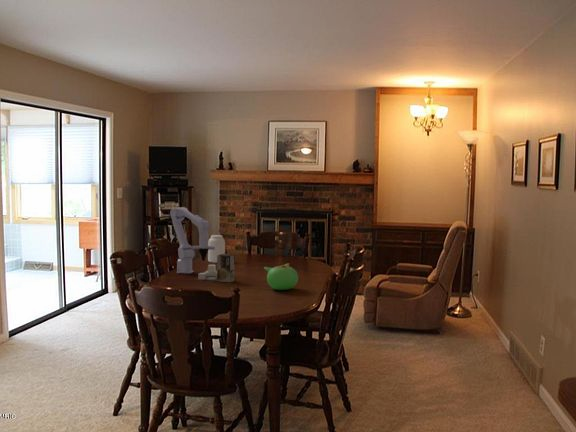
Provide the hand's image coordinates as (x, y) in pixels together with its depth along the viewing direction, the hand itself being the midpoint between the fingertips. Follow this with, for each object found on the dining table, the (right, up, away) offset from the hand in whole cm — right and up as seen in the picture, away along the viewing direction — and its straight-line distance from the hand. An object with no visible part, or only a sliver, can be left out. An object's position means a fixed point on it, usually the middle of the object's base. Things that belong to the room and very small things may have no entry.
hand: (203, 260), depth 324 cm
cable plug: (+1, -11, -10) cm, 14 cm away
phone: (+7, -11, -10) cm, 17 cm away
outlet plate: (+6, -10, +4) cm, 12 cm away
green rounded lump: (+51, -14, -35) cm, 63 cm away
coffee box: (+16, -12, -14) cm, 24 cm away
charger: (+5, -9, +3) cm, 11 cm away
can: (0, -6, +58) cm, 58 cm away
